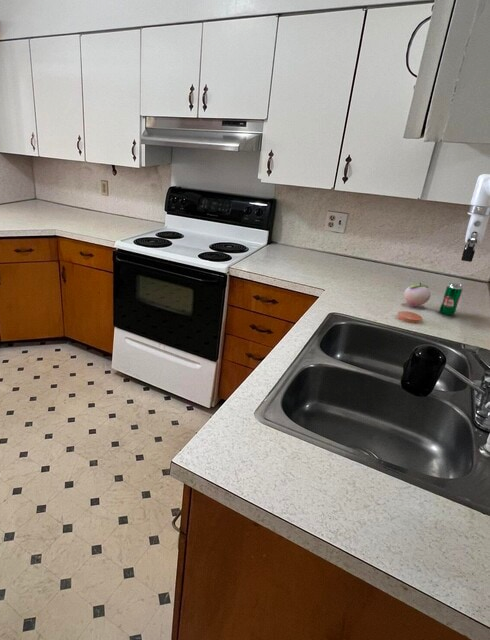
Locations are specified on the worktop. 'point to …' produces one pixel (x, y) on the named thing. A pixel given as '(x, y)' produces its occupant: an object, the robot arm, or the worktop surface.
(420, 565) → the worktop surface
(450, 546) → the worktop surface
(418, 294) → the decorative fruit
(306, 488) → the worktop surface
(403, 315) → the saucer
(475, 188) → the robot arm
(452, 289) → the soda can
